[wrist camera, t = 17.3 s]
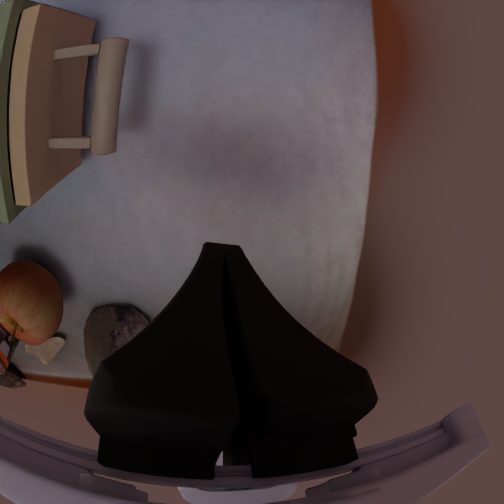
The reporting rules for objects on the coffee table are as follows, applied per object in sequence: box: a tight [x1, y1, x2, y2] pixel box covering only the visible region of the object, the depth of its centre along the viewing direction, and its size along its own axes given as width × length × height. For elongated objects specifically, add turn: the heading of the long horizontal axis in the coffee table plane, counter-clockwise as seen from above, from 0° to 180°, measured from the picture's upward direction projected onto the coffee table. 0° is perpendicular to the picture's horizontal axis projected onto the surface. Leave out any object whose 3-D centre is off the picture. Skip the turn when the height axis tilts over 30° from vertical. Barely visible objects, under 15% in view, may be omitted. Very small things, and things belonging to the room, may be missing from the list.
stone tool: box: [25, 337, 65, 365], centre depth 28 cm, size 5×1×10 cm
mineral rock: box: [84, 306, 149, 377], centre depth 25 cm, size 13×11×10 cm
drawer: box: [7, 4, 129, 206], centre depth 10 cm, size 17×10×7 cm, turn 79°
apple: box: [0, 260, 63, 345], centre depth 19 cm, size 8×8×8 cm
